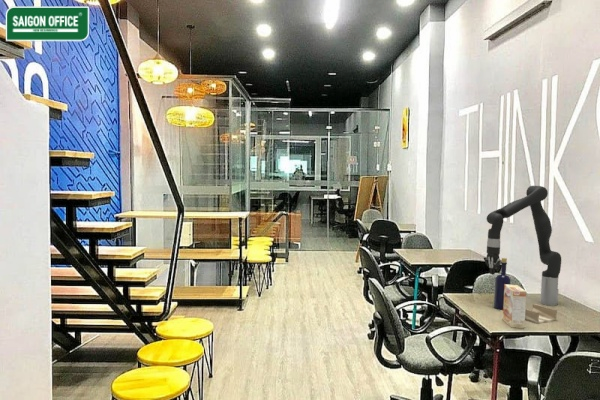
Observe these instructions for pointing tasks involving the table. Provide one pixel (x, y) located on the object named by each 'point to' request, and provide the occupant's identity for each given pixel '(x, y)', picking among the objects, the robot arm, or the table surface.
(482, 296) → the table surface
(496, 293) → the bottle
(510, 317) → the coffeecake box
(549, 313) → the u rest
